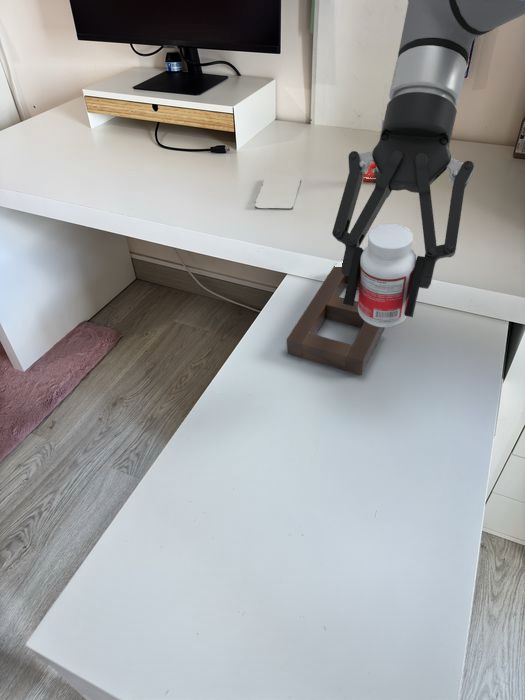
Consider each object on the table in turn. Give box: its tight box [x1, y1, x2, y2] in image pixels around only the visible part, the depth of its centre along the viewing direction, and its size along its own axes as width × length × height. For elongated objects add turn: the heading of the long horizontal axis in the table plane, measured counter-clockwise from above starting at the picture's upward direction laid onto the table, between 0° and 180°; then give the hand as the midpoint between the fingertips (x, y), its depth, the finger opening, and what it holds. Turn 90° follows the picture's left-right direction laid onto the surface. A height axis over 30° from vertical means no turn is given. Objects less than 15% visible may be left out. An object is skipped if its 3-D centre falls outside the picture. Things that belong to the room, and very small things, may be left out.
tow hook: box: [362, 119, 384, 183], centre depth 108 cm, size 8×13×9 cm
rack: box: [286, 265, 386, 376], centre depth 80 cm, size 12×21×3 cm, turn 152°
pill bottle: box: [357, 223, 417, 328], centre depth 58 cm, size 6×6×11 cm
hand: (378, 310), depth 57 cm, fingers closed on pill bottle, 6 cm apart
